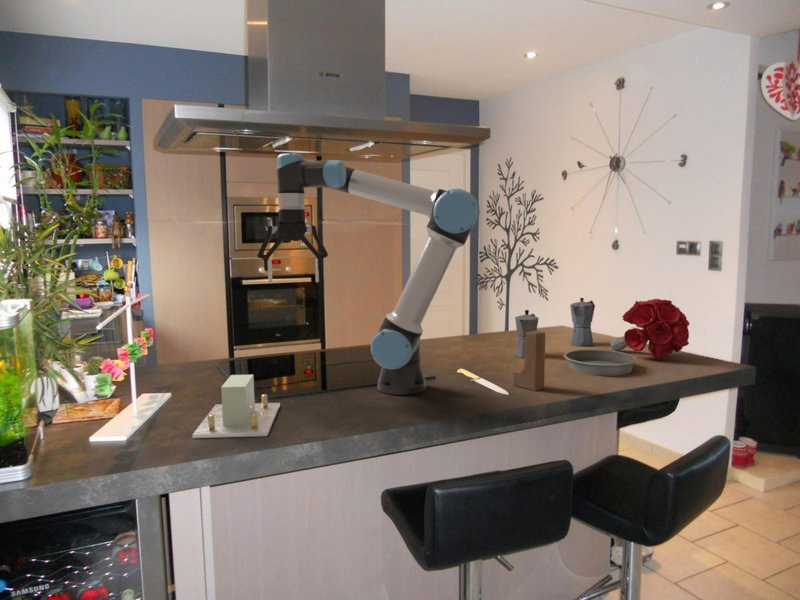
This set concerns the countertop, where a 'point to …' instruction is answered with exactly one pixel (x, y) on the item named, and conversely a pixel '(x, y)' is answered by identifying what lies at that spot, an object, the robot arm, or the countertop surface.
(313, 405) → the countertop surface
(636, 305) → the bouquet
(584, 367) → the cake pan
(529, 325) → the coffeepot
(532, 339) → the wooden block
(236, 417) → the pale green rectangular block
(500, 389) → the knife
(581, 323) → the moka pot
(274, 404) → the chassis plate
